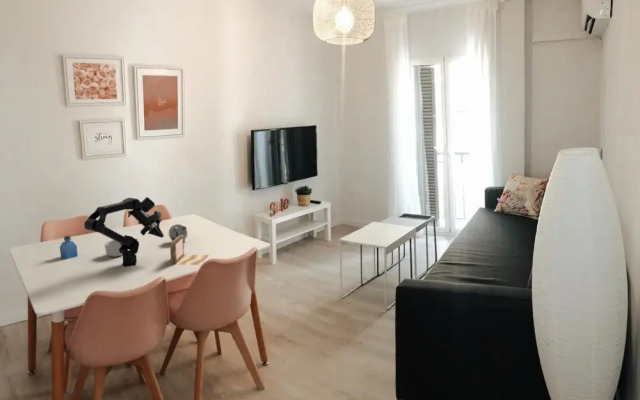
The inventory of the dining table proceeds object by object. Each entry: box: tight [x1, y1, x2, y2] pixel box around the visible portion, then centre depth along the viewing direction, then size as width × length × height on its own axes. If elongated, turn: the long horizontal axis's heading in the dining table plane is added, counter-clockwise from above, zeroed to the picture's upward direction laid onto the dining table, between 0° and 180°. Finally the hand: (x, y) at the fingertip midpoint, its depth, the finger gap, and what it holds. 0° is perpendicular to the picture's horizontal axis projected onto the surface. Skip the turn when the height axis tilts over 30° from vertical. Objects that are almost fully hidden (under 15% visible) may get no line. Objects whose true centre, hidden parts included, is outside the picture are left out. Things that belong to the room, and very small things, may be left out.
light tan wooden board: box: [168, 254, 210, 266], centre depth 271 cm, size 18×17×1 cm
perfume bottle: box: [59, 235, 79, 260], centre depth 275 cm, size 6×6×12 cm
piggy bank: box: [168, 223, 188, 244], centre depth 303 cm, size 11×15×12 cm
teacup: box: [104, 239, 123, 258], centre depth 280 cm, size 14×11×8 cm
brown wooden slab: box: [169, 235, 185, 265], centre depth 269 cm, size 2×15×12 cm, turn 178°
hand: (163, 236), depth 267 cm, fingers closed
